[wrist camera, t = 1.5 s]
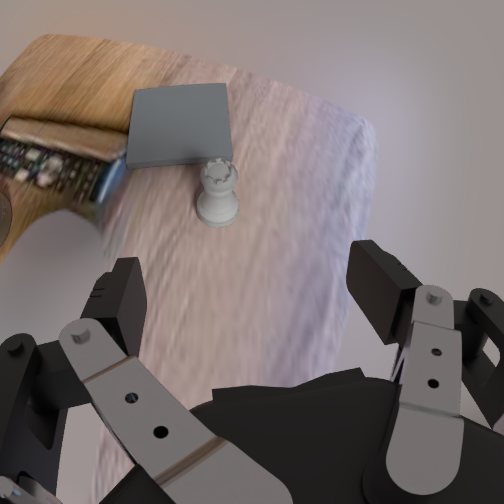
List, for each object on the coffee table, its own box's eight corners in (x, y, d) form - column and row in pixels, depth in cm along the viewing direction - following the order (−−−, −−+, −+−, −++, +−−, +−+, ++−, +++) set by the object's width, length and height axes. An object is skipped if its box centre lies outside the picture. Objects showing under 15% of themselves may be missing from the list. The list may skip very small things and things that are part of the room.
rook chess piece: (241, 194, 35) (248, 151, 27) (236, 232, 33) (242, 196, 26) (200, 189, 35) (197, 145, 27) (193, 227, 33) (187, 189, 26)
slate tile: (127, 169, 34) (125, 163, 33) (136, 96, 38) (135, 90, 37) (232, 161, 36) (232, 155, 35) (225, 89, 40) (225, 83, 38)
